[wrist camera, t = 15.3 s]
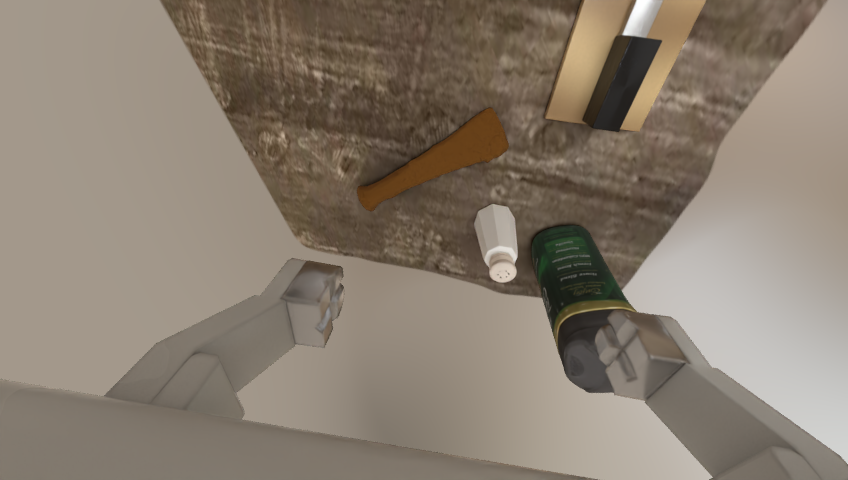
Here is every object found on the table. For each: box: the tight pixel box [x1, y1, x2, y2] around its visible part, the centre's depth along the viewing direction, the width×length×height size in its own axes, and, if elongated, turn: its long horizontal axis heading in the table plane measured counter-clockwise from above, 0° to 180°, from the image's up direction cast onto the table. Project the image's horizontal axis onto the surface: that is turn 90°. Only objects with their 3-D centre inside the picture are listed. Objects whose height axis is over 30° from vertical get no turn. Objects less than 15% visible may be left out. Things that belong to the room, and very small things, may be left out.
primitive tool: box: [357, 108, 509, 211], centre depth 36 cm, size 19×6×4 cm, turn 122°
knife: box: [582, 0, 663, 132], centre depth 25 cm, size 18×3×3 cm, turn 173°
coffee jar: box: [532, 225, 637, 393], centre depth 35 cm, size 10×8×19 cm
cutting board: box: [544, 0, 706, 132], centre depth 26 cm, size 20×10×1 cm, turn 174°
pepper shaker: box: [474, 204, 518, 282], centre depth 36 cm, size 5×5×11 cm
